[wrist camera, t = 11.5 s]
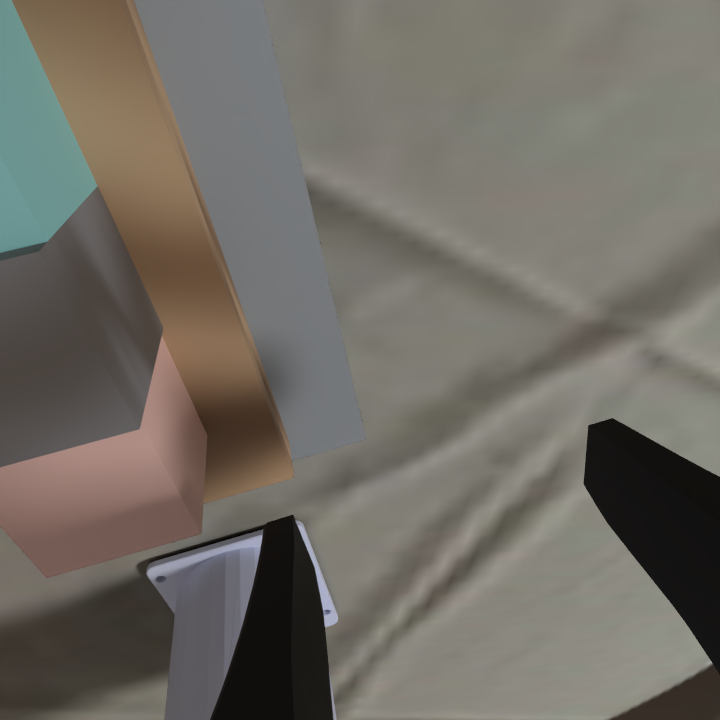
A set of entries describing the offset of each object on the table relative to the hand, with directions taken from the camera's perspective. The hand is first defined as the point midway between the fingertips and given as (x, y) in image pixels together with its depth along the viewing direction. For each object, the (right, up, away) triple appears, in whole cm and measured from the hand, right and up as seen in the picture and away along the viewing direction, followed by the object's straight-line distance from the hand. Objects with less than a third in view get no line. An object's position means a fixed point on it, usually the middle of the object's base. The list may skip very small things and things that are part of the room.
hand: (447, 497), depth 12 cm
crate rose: (-9, +2, +3) cm, 10 cm away
